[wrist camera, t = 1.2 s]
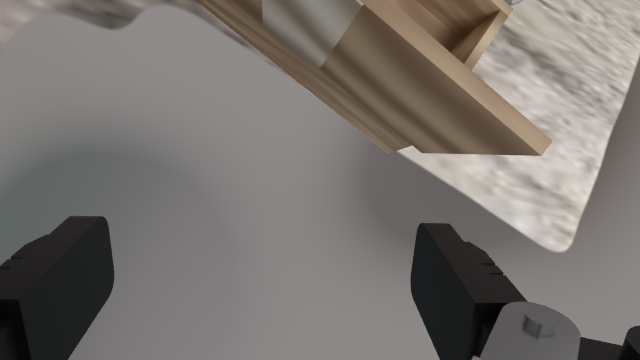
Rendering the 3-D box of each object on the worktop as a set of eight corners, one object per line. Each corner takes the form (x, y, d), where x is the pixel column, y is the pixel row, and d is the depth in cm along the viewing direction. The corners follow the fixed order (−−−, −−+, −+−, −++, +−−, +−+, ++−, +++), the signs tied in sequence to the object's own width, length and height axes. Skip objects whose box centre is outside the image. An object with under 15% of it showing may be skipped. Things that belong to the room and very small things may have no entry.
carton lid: (428, 144, 33) (421, 153, 33) (152, -81, 30) (144, -70, 29) (552, 140, 19) (540, 157, 19) (48, -296, 15) (32, -275, 15)
